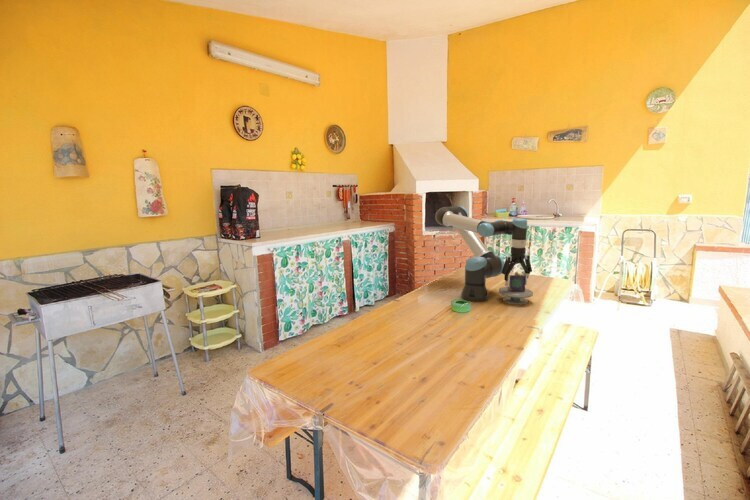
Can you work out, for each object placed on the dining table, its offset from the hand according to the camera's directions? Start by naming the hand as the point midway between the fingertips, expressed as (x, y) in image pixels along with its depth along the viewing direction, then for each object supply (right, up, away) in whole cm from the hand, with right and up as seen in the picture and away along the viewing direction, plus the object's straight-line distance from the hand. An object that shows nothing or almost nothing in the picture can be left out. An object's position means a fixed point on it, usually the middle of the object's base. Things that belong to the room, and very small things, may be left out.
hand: (516, 285), depth 200 cm
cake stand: (0, -9, +2) cm, 9 cm away
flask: (0, -3, +1) cm, 4 cm away
